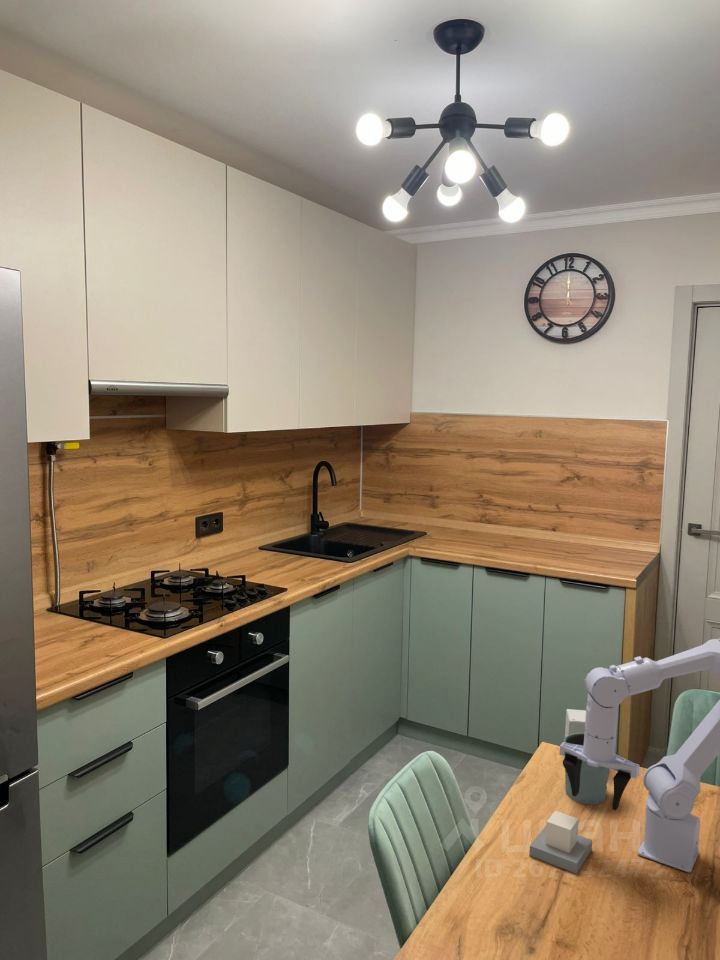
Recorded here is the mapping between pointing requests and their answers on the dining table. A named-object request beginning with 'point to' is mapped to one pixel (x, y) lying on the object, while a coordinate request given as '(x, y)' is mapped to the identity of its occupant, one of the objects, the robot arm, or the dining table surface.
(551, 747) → the dining table surface
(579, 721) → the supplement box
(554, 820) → the cream colored cube
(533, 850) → the stud block
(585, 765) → the teal cup
